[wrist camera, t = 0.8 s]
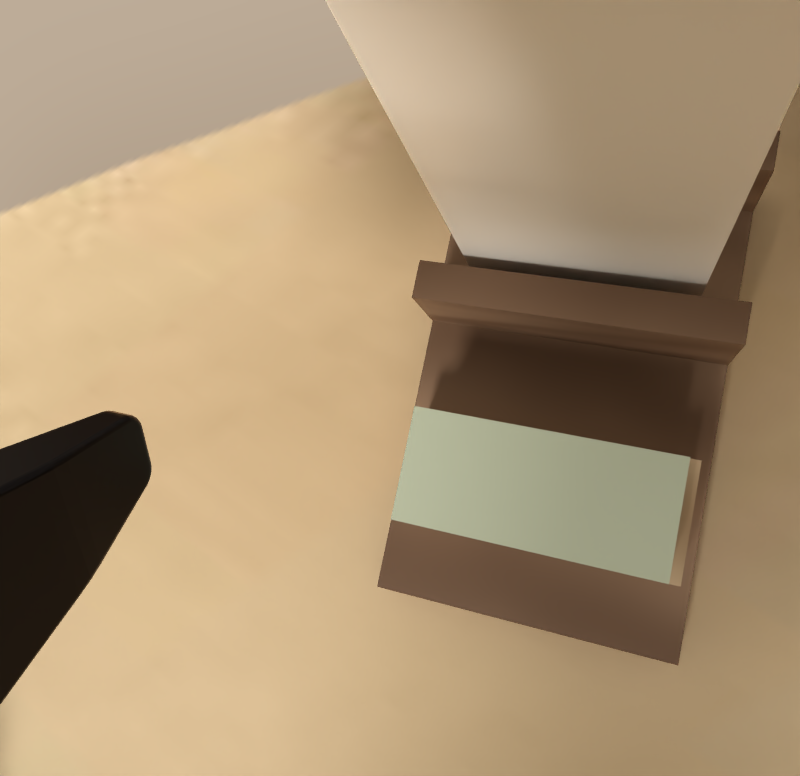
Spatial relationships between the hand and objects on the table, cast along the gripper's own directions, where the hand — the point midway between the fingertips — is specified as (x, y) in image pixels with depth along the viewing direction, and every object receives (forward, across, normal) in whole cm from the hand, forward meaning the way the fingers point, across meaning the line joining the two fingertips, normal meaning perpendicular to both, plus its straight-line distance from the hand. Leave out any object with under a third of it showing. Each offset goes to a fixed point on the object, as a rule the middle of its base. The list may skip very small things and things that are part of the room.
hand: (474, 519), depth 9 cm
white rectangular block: (+14, 0, +2) cm, 14 cm away
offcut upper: (+8, 0, +6) cm, 10 cm away
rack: (+12, 0, +6) cm, 13 cm away
